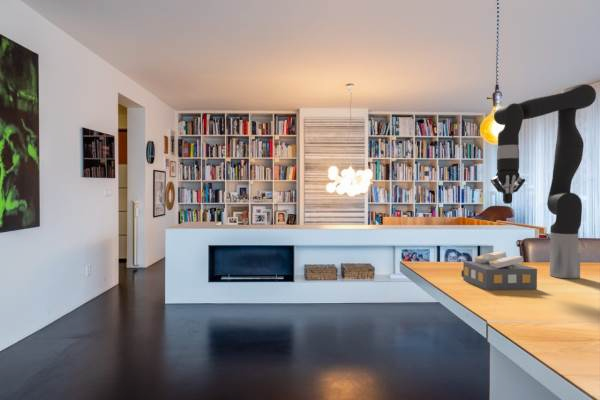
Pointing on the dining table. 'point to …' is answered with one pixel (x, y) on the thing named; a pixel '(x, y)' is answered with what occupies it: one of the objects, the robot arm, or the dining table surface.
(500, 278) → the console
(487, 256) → the rocker
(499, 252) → the white rectangular block
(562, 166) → the robot arm
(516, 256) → the rocker
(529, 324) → the dining table surface
